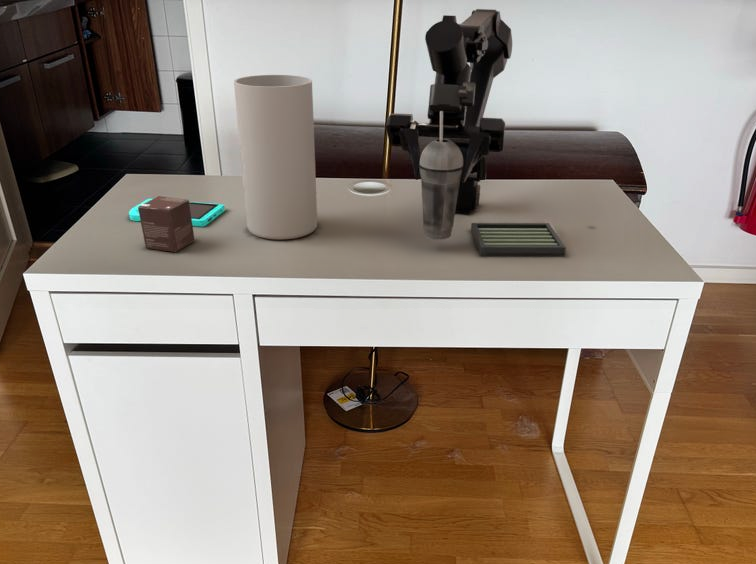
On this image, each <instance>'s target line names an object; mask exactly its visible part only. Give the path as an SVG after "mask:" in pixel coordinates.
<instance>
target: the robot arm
mask: <svg viewBox="0 0 756 564" xmlns="http://www.w3.org/2000/svg"><path fill="white" fill-rule="evenodd" d="M470 14H471V15H470V16H469V17H468V18H466V19H465V20H464V21H462V22H461V23H457V22H458V21H457V16H456V15H449V14H448V15H447V14H446V15H443V16H442V18H441V20H440V21H438V22H435V23H434V24H433V25H432V26H430V27H429V29H428V30H427V31H426V33H425V35H424V37H425V38H424V39H425V45H426V49H427V53H428V57H429V61H430V66H431V69H432V71H433V72H435V76H434V77H435V78H434V83H433V84H430V86H429V96H428V97H429V98H428V106H427V107H428V109H427V115H426V116H427V119H428V123H423V122H422V123H421V122H418V121H416V120H414V117H413V114H412V113H397V112H396V113H394V112H392V113H390V115H388V117H387V118H386V124H385V129H386V133H387V138H388V143H389V144H388V145H390V146H392V147H397V148H401V150H402V151H404V152H407V153H408V155H409V158H410V160H411V164H412V167H413V173H414V178H415V179H414V180H416V181H418V180H419V179H420V178H419V177H420V171H419V162H420V157H421V147H420V137H421V138H422V137H423V138H434V139H435V138H436V139H440V111H443V139H448V140H450V141H452V142H454V143H455V144H456V145H457V146H458V147H459V149H460V151H461V153H462V156H463V162H464V167H463V173H462V177H461V180H460V183H459V190H458V196H457V203H456V210H455V214H456V213H457V214H462V215H463V214H464V215H470V214H472V213H473V212H474V211H475V210H476V209H477V208H478V207H479V205H480V198H481V197H480V196H481V185H480V184H479V183H480V182H481V181H486V179H487V158H486V156H488V155H489V154H490V153H501V152H503V151H504V144H505V143H504V142H505V141H504V140H505V133H506V132H505V130H506V122H505V120H504V119H503V118H501V117H499V118H498V117H497V118H496V117H484V115H485V111H486V109H487V107H486V106H487V104H488V100H489V97H490V92H491V89H492V86H493V82H494V79H495V78H496V77H497V76H499V75H500V74H501V73H502V72H504V71H505V68H506V66H507V62H508V60H510V59H511V57H512V51H513V36H512V35H513V34H512V29H511V28H510V27H509V25H508V24H507V23H505V22H504V20H503V19H502V17H501V11H499V10H497V9H489V8H488V9H487V8H486V9H485V8H476V9H475V10H472V11H471V13H470Z"/></svg>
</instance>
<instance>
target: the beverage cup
mask: <svg viewBox="0 0 756 564" xmlns="http://www.w3.org/2000/svg"><path fill="white" fill-rule="evenodd" d="M463 167H464V162H463V156H462V153H461V151H460V149H459V147H458V146H457V145H456V144H455V143H454V142H452V141H450V140H448V139H443V111H440V138H436V139H435V140H432V141H430V142H429V143H428V144H427V145H426V146H425V147H424V149H423V150H422V152H421V153H420V162H419V177H420V181H421V182H420V183H421V201H422V202H421V203H422V204H421V205H422V224H423V232H424V233H423V235H424V237H426V238H427V239H430V240H436V241H438V240H440V241H441V240H447V239H449V238H451V236H452V232H453V227H454V222H455V215H456V212H455V210H456V203H457V196H458V190H459V183H460V180H461V177H462V173H463Z"/></svg>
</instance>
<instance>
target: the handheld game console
mask: <svg viewBox="0 0 756 564" xmlns="http://www.w3.org/2000/svg"><path fill="white" fill-rule="evenodd" d="M152 199H153V198H147V199H145V200H143V201H142V202H141V203H139V204H137V205H135V206H134V207H132V208H131V209H130V210H129V212H128V215H129V216H128V217H129V219H130V220H131V221H133V222H141V220H140V216H139V210H138V207H139V206H140V205H142V204H144V203H146V202H148V201H150V200H152ZM189 206H190V212H191V219H192V225H193V227H202V228H203V227H206V226H208V225H209V224H210V223H211V222H213V221H214V220H215V219H216V218H217V217H219V216H220V215H222V214H223V213H224V212H225V211H226V208H225V204H224V203H223V204H222V203H212V202H211V203H208V202H198V201H189Z"/></svg>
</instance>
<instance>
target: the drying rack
mask: <svg viewBox="0 0 756 564" xmlns="http://www.w3.org/2000/svg"><path fill="white" fill-rule="evenodd" d="M470 225H471V226H470V232H471V235H472V237H473V240H474V243H475V245H476V248H477V250H478V253H479V256H480V257H565V255H566V249H567V247H566V245H565V243H563V240H561V239H560V237H559V235H558V233H556V231H555V230H554V228H553V226H552V225H551V224H550V223H549V222H471V224H470Z"/></svg>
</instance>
